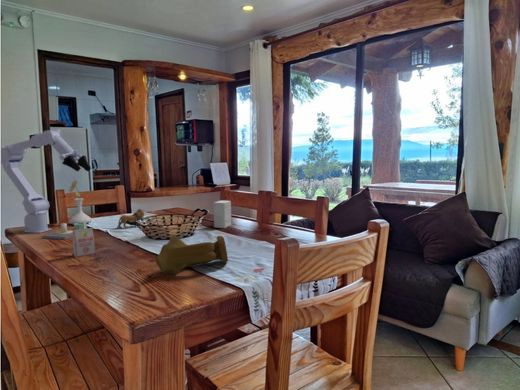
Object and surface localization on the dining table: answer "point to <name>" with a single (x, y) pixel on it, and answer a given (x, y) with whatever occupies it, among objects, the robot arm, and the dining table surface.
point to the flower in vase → (78, 207)
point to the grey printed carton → (83, 242)
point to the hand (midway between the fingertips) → (84, 169)
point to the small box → (222, 214)
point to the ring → (80, 226)
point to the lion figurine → (131, 218)
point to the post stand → (60, 233)
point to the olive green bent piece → (189, 254)
